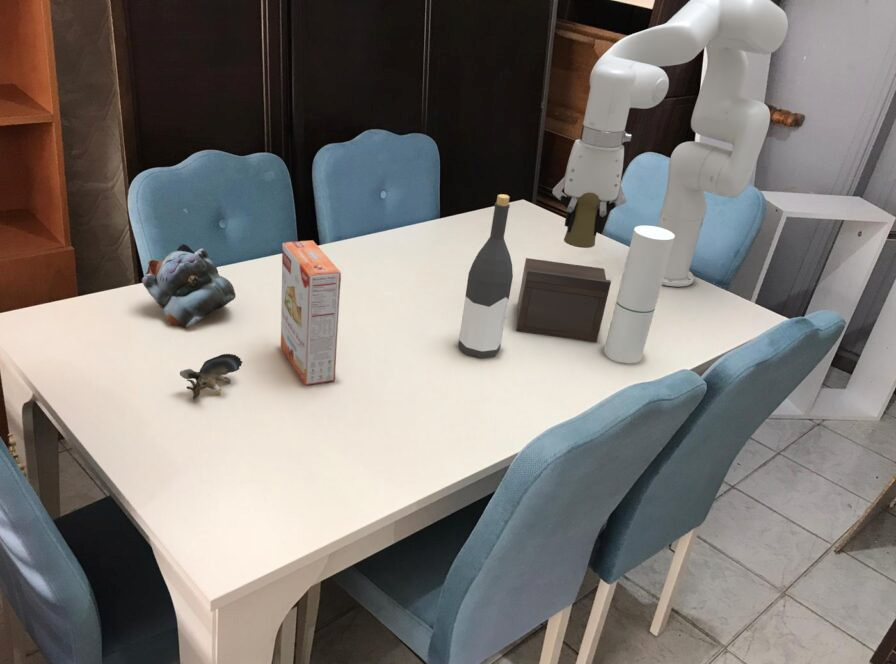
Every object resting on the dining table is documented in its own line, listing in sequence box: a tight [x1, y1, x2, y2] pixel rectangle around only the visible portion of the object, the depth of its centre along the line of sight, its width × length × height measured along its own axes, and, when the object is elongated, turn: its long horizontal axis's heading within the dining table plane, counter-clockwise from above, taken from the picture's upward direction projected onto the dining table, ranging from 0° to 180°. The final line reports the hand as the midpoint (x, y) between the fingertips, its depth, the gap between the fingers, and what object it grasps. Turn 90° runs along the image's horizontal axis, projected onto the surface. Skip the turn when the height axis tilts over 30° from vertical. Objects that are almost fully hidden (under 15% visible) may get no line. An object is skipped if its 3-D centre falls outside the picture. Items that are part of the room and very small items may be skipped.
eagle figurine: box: [179, 353, 243, 401], centre depth 138 cm, size 8×7×9 cm
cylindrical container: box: [603, 224, 675, 365], centre depth 157 cm, size 7×7×25 cm
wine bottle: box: [458, 193, 514, 359], centre depth 153 cm, size 8×8×30 cm
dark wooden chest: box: [515, 257, 612, 343], centre depth 170 cm, size 12×16×13 cm
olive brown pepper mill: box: [563, 193, 601, 249], centre depth 162 cm, size 6×6×11 cm
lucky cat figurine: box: [141, 243, 237, 329], centre depth 161 cm, size 15×12×14 cm
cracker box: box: [280, 239, 342, 386], centre depth 144 cm, size 14×6×21 cm, turn 23°
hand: (581, 230), depth 163 cm, fingers closed on olive brown pepper mill, 4 cm apart
